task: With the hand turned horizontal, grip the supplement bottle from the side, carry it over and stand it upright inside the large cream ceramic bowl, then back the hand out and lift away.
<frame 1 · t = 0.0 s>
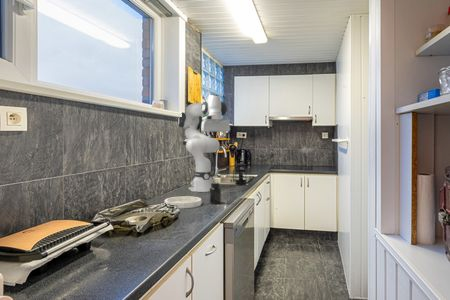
hand: (216, 138, 221), 39 cm above the countertop, tool pointing down, fingers open, 8 cm apart
french press: (240, 184, 275), on the countertop
supplement bottle: (215, 203, 197), on the countertop
ceramic bowl: (183, 204, 193), on the countertop
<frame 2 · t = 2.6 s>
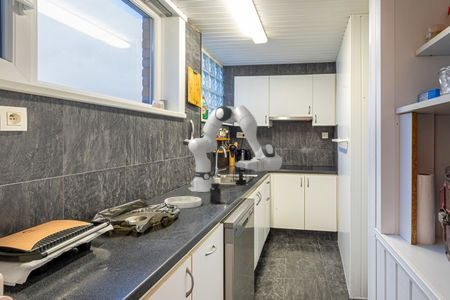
hand: (234, 165, 198), 23 cm above the countertop, tool horizontal, fingers open, 8 cm apart
nothing on the countertop moved.
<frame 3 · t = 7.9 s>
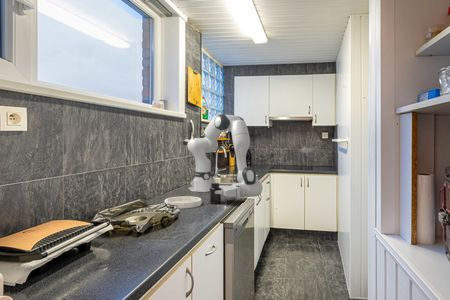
hand: (213, 191, 196), 7 cm above the countertop, tool horizontal, fingers closed on supplement bottle, 7 cm apart
supplement bottle: (215, 203, 197), on the countertop, touching gripper
everything else where it was.
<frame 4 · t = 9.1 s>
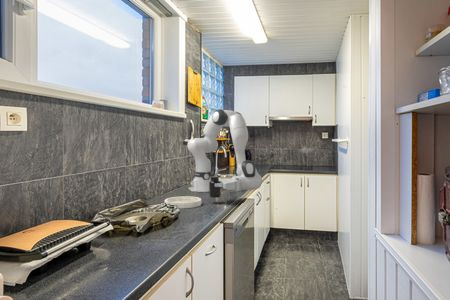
hand: (213, 183, 196), 12 cm above the countertop, tool horizontal, fingers closed on supplement bottle, 7 cm apart
supplement bottle: (214, 196, 197), point 4 cm above the countertop, touching gripper
everything else where it was.
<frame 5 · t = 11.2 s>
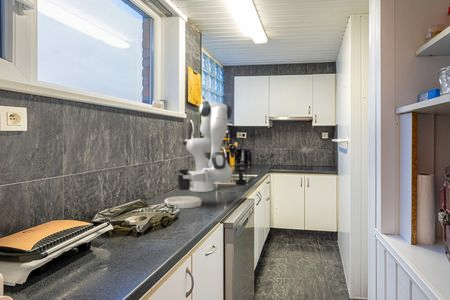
hand: (182, 176, 192), 17 cm above the countertop, tool horizontal, fingers closed on supplement bottle, 7 cm apart
supplement bottle: (183, 189, 193), point 9 cm above the countertop, touching gripper
everything else where it was.
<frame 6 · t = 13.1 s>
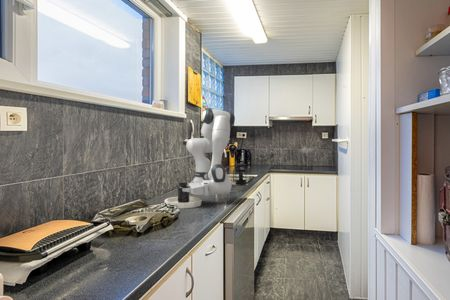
hand: (181, 188, 192), 9 cm above the countertop, tool horizontal, fingers closed on supplement bottle, 7 cm apart
supplement bottle: (183, 202, 193), point 1 cm above the countertop, touching gripper
everything else where it was.
when the fingers open (9 cm above the countertop, at t = 13.7 s): supplement bottle stays where it is, resting on ceramic bowl.
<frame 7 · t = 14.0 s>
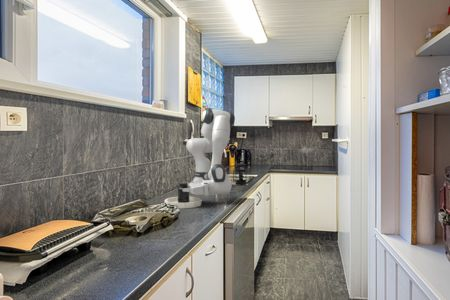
hand: (181, 188, 192), 9 cm above the countertop, tool horizontal, fingers open, 8 cm apart
supplement bottle: (183, 203, 193), point 1 cm above the countertop, touching ceramic bowl
everything else where it was.
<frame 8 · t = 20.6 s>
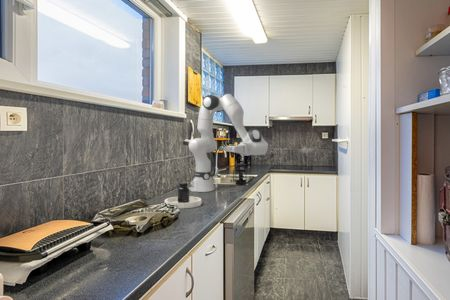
hand: (222, 149, 207), 32 cm above the countertop, tool horizontal, fingers open, 8 cm apart
nothing on the countertop moved.
at the end: supplement bottle inside the target area on the ceramic bowl (0.2 cm from its centre), point 0.6 cm above the ceramic bowl's base; supplement bottle tilted 0°; the gripper is holding nothing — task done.
